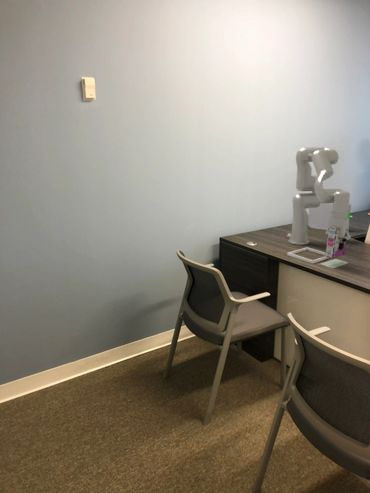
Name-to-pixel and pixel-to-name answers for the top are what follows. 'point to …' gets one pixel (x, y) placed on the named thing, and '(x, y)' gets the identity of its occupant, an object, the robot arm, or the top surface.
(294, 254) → the grey square frame
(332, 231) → the candy bar box
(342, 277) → the top surface
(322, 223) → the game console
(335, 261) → the rubber mat
